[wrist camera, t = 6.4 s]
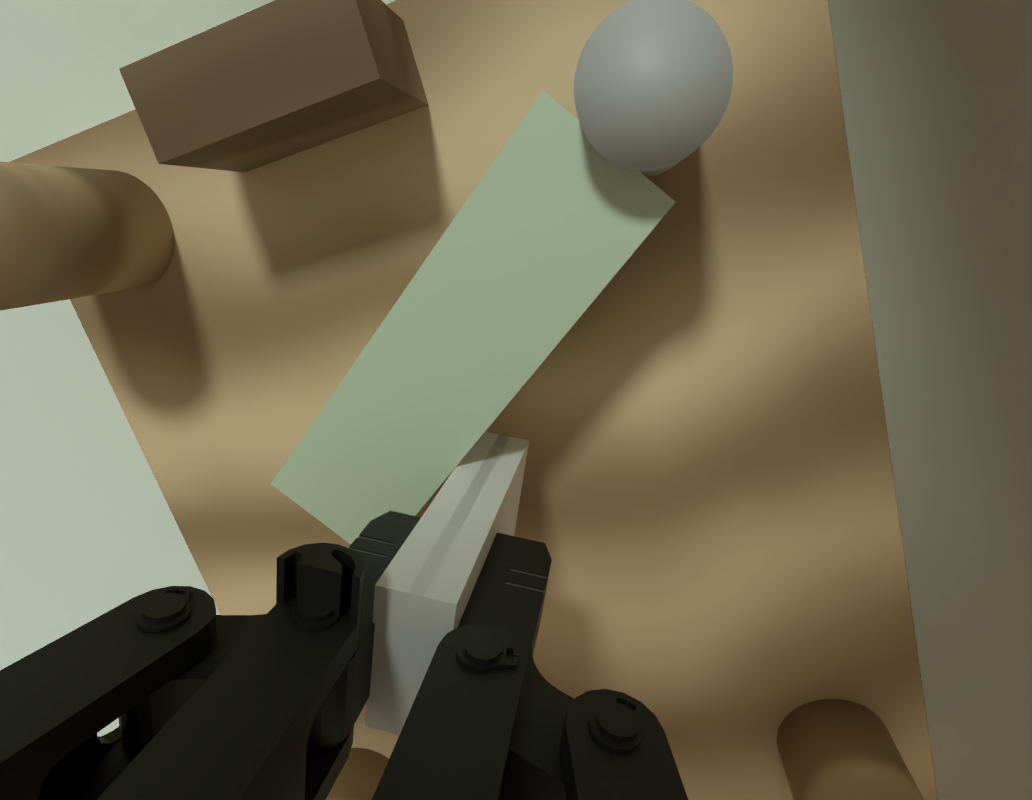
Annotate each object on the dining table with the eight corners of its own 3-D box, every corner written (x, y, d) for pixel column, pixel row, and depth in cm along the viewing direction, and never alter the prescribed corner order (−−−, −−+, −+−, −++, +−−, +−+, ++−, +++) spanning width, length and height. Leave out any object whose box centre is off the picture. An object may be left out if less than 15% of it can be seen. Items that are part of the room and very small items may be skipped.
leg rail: (624, 23, 13) (628, -57, 9) (733, 117, 13) (782, 78, 9) (331, 435, 17) (247, 501, 13) (417, 501, 17) (359, 586, 13)
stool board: (69, 168, 18) (-185, 149, 12) (777, -115, 13) (898, -359, 8) (351, 790, 24) (268, 971, 18) (906, 743, 19) (1027, 966, 14)
